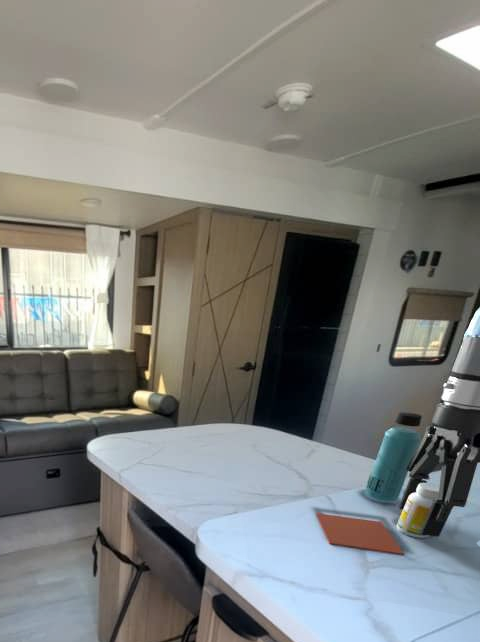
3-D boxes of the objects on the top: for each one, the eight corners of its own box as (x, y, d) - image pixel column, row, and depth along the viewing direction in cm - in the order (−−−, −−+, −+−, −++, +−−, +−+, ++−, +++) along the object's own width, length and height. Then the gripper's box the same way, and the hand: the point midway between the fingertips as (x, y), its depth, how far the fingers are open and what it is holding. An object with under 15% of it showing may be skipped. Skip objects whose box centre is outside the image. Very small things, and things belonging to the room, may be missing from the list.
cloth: (380, 522, 82) (380, 521, 81) (404, 555, 71) (404, 553, 71) (315, 514, 84) (316, 512, 84) (329, 544, 74) (329, 542, 74)
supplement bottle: (389, 526, 80) (406, 482, 76) (409, 523, 82) (427, 479, 78) (416, 540, 76) (436, 494, 71) (436, 536, 77) (457, 491, 73)
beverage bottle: (401, 503, 90) (436, 415, 81) (387, 511, 86) (423, 419, 77) (369, 492, 94) (400, 407, 86) (355, 499, 91) (386, 411, 82)
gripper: (413, 390, 78) (375, 494, 88) (477, 419, 59) (419, 548, 69) (459, 394, 77) (415, 499, 86) (539, 424, 57) (471, 556, 67)
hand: (417, 521), depth 78 cm, fingers open, 9 cm apart
